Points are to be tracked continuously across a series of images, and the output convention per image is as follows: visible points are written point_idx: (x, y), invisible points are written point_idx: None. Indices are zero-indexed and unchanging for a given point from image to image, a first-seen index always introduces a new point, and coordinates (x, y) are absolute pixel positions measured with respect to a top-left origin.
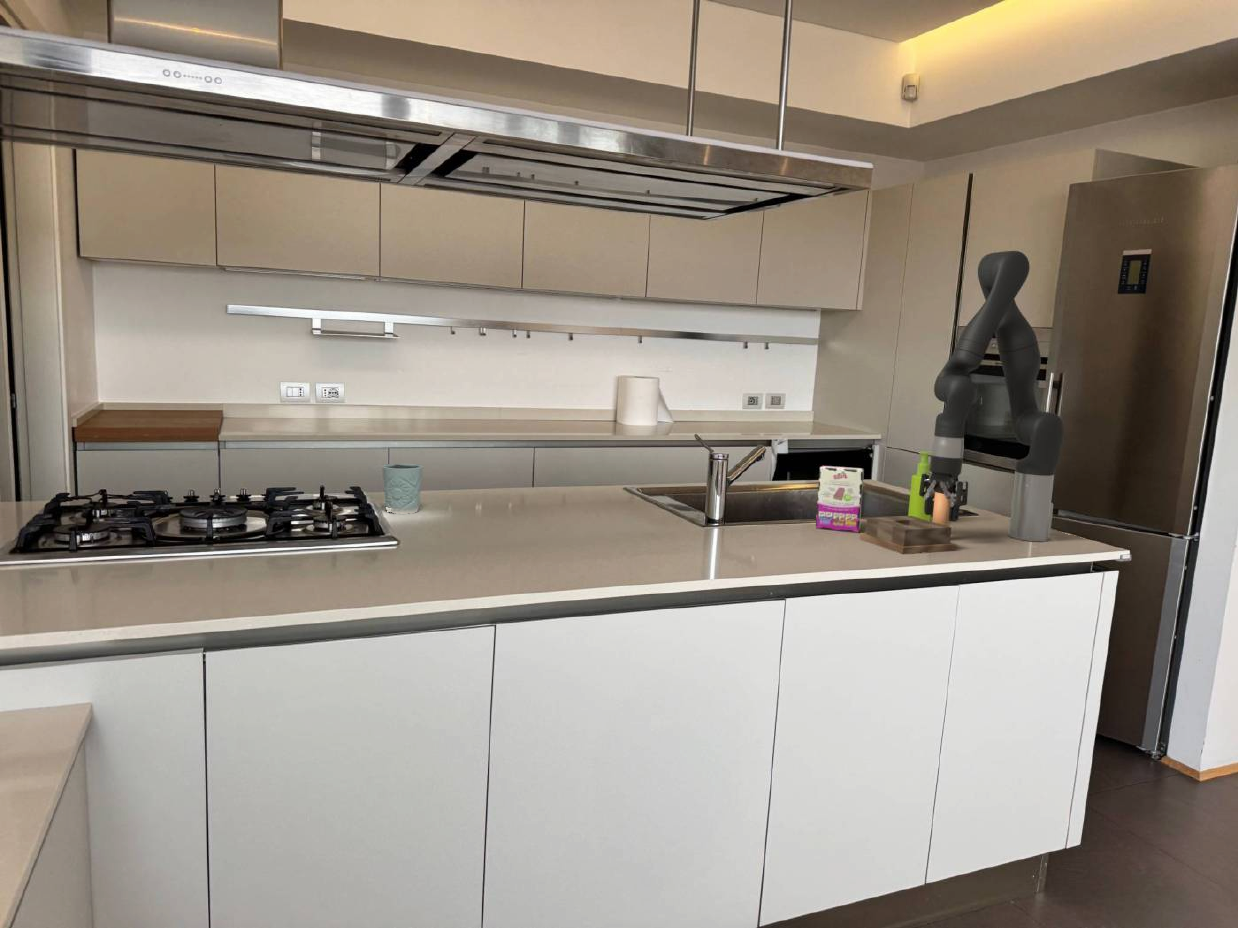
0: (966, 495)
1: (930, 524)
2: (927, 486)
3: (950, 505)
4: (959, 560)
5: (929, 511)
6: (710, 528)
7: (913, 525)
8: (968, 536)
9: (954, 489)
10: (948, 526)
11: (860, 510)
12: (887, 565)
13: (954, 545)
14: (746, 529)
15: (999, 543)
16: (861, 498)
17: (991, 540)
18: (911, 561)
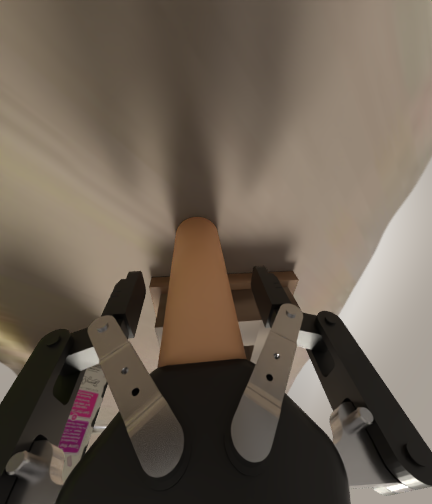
0: (363, 362)
1: (260, 337)
2: (55, 405)
3: (231, 301)
4: (335, 304)
5: (141, 290)
6: (103, 429)
7: (253, 362)
8: (174, 85)
9: (288, 399)
10: (219, 247)
11: (99, 388)
12: (295, 371)
13: (296, 281)
14: (105, 415)
15: (311, 50)
16: (81, 422)
17: (261, 31)
18: (298, 350)
